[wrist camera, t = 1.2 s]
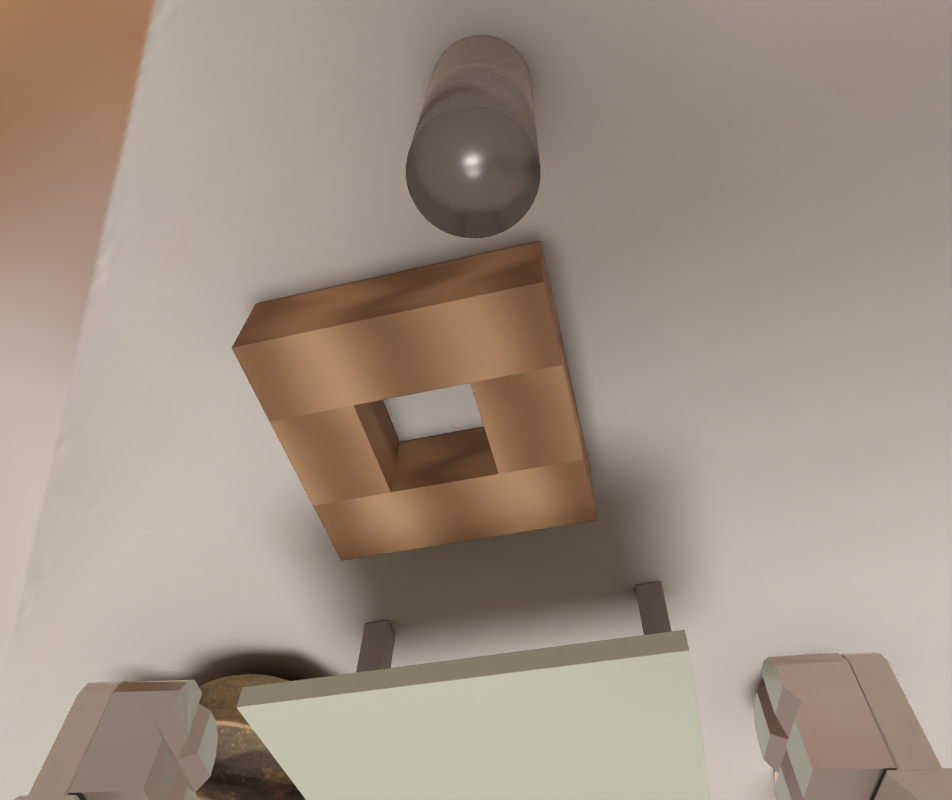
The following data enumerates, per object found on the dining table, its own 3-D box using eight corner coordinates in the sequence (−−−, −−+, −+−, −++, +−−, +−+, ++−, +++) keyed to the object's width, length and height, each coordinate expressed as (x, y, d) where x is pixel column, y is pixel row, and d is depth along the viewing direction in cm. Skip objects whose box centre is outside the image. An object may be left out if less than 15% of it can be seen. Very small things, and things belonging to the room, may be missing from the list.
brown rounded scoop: (346, 763, 62) (323, 901, 54) (125, 719, 59) (65, 858, 51) (389, 667, 54) (369, 812, 46) (137, 611, 51) (68, 755, 43)
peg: (518, 23, 29) (524, 90, 21) (539, 126, 32) (551, 222, 23) (419, 50, 30) (387, 125, 22) (446, 149, 32) (427, 250, 24)
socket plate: (540, 240, 35) (543, 281, 31) (590, 468, 42) (597, 520, 39) (255, 303, 37) (231, 347, 34) (353, 508, 45) (341, 560, 42)
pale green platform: (642, 446, 41) (689, 650, 31) (667, 599, 49) (712, 807, 38) (299, 504, 45) (236, 707, 34) (370, 640, 52) (337, 841, 42)
